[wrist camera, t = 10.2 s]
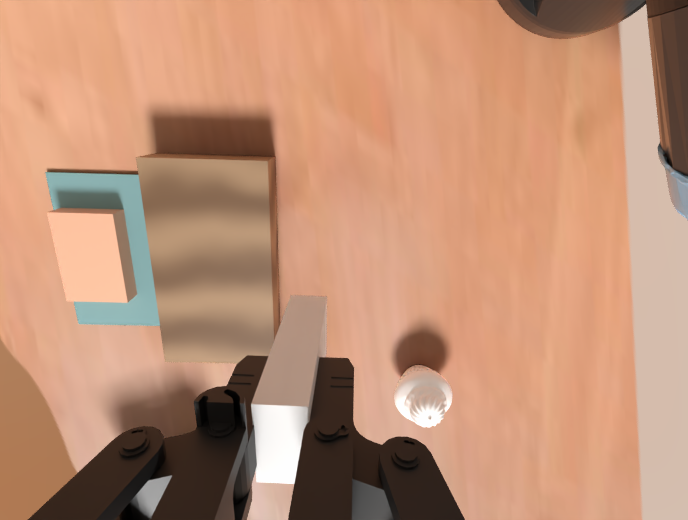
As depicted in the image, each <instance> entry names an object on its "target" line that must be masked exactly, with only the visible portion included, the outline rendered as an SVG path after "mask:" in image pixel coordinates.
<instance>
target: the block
mask: <svg viewBox="0 0 688 520" xmlns="http://www.w3.org/2000/svg"><path fill="white" fill-rule="evenodd" d="M47 215H48V220H49V224H50V229H51V233H52V238H53V242H54V247H55V251H56V255H57V260H58V264H59V269H60V273H61V278H62V282H63V287H64V291H65V296H66V300H67V301H75V302H118V303H128V302H129V301H130V300H131V299H133V298H134V297H135V296H136V295H137V289H136V283H135V276H134V270H133V264H132V257H131V251H130V245H129V239H128V232H127V226H126V220H125V213H124V209H89V208H59V209H56V210H53V211H50V212H47Z"/></svg>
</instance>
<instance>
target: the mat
mask: <svg viewBox="0 0 688 520" xmlns="http://www.w3.org/2000/svg"><path fill="white" fill-rule="evenodd" d="M45 173H46V178H47V182H48V187H49V191H50V196H51V200H52V205H53V209H54V210H56V209H59V208H89V209H124V213H125V220H126V226H127V232H128V239H129V245H130V251H131V257H132V264H133V270H134V276H135V283H136V289H137V295H136V296H135V297H134V298H133V299H131V300H130V301H129V302H128V303H118V302H75V301H74V305H75V310H76V314H77V319H78V323H79V324H99V325H145V326H160V322H159V315H158V308H157V301H156V294H155V287H154V280H153V273H152V266H151V259H150V252H149V245H148V238H147V231H146V224H145V217H144V210H143V203H142V196H141V189H140V182H139V175H138V174H103V173H66V172H45Z"/></svg>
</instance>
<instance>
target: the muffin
mask: <svg viewBox="0 0 688 520" xmlns="http://www.w3.org/2000/svg"><path fill="white" fill-rule="evenodd" d="M394 400H395V404H396V407H397V409H398V410H399V411H400V413H401V414H402V415H403V416H405V417H406V418H407V419H409V420H412V421H414V422H415V423H416V424H417V425H420V426H422V427H426V426H427V427H431V426H432V425H433V426H436V423H440V422H441V421H440V420H441V419H443V418H444V415H443V414H444V413H445V412H446V411H447V410H448V409H449V407H450V405H451V403H452V389H451V386H450V384H449V383H448V381H447V380H446V379H445V378H444V377H443V376H441V374H439V373H438V372H437V371H434V370H432V369H430V368H428V367H426V366H423V365H414V366H412V367H409V368H408V369H407V370H406V371H405V372H404V374H403V375H402V377H401V378H400V380H399V381H398V384H397V386H396V389H395V393H394Z"/></svg>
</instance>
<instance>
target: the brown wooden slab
mask: <svg viewBox="0 0 688 520" xmlns="http://www.w3.org/2000/svg"><path fill="white" fill-rule="evenodd" d="M136 161H137V168H138V175H139V182H140V189H141V196H142V203H143V210H144V217H145V224H146V231H147V238H148V245H149V252H150V259H151V266H152V273H153V280H154V287H155V294H156V301H157V308H158V315H159V322H160V329H161V336H162V343H163V350H164V357H165V362H193V363H239V362H240V361H241V360H242V359H243V358H245V357H246V356H247V355H253V356H269V354H270V351H271V348H272V345H273V343H274V340H275V337H276V335H277V332H278V329H279V326H280V304H279V269H278V235H277V200H276V166H275V157H272V156H236V155H200V154H165V153H156V154H150V155H145V156H140V157H136Z"/></svg>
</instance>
